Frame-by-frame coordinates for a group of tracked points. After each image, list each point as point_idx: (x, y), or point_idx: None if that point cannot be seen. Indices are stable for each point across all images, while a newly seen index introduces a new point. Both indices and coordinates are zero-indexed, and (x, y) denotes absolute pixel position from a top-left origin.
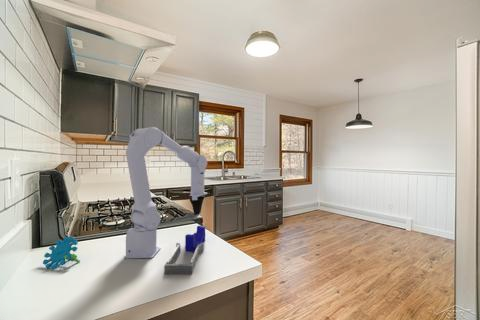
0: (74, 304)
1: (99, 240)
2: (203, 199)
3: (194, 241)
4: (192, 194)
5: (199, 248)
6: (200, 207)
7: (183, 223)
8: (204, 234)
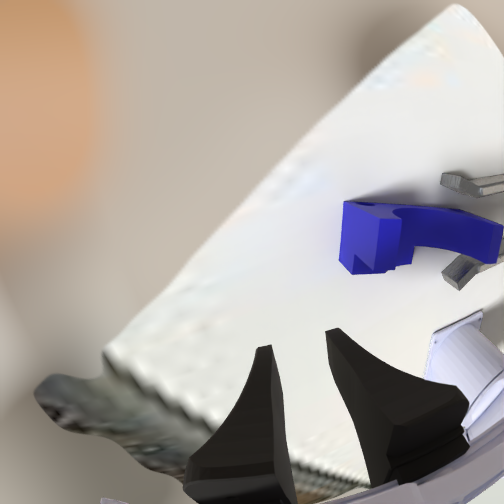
0: None
1: (355, 468)
2: (274, 443)
3: (476, 217)
4: (485, 489)
5: (482, 183)
6: (366, 362)
7: (131, 392)
8: (368, 208)
